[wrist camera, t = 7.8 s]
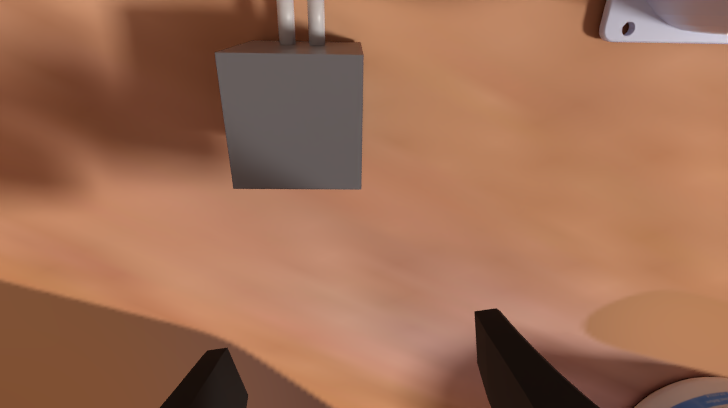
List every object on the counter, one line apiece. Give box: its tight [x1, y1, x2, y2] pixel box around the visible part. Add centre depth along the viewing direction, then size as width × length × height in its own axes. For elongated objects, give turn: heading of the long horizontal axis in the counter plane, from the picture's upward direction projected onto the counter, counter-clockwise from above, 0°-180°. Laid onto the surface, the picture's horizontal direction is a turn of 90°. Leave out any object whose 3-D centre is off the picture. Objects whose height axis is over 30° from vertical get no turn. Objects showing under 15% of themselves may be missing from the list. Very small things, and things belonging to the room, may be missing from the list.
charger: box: [215, 0, 363, 189], centre depth 15 cm, size 6×4×5 cm
